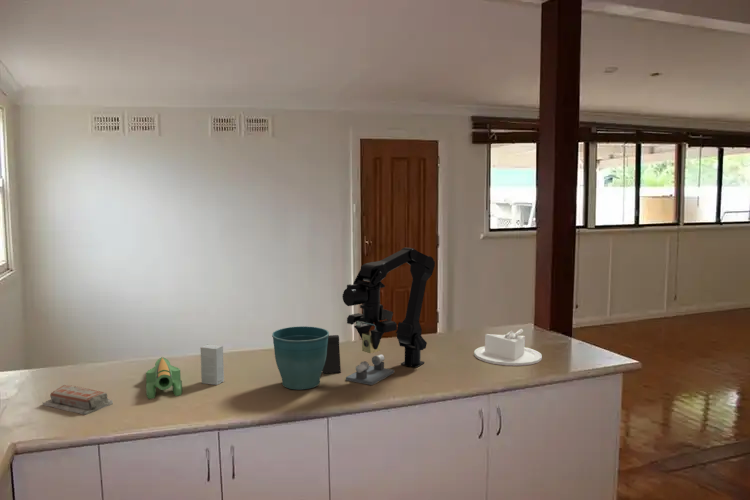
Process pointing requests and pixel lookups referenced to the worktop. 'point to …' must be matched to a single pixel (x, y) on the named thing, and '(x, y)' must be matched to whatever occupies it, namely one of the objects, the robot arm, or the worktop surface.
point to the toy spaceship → (163, 378)
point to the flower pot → (300, 355)
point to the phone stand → (332, 356)
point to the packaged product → (78, 399)
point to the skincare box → (212, 364)
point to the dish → (507, 350)
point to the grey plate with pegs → (370, 371)
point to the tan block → (368, 343)
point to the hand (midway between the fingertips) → (371, 347)
